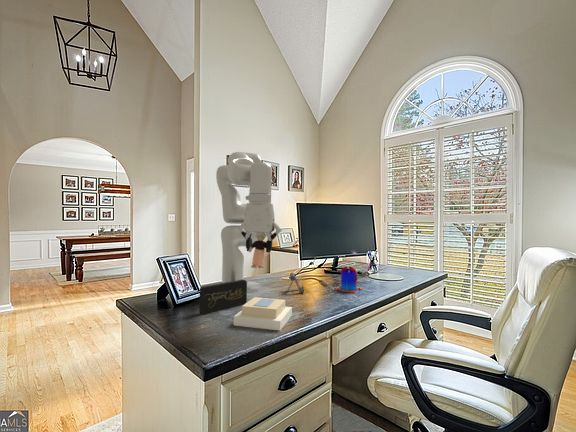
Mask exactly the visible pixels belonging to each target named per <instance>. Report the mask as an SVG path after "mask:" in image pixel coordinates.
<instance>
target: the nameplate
mask: <svg viewBox="0 0 576 432" xmlns="http://www.w3.org/2000/svg"><path fill="white" fill-rule="evenodd" d="M247 290H248V281H247V280H245V279H243V280H237V281H231V282H225V283H222V282H220V283H214V284H209V285H204V286H201V287H200V288H199V298H198V301H199V305H198V308H199V309H198V311H199V314H201V315H207V314H209V315H210V314H212V313H216V312H221V311H224V310H228V309H232V308H235V307H240V306H243V305H244V304H246V303H247V302H248V301H247V300H248V299H247V297H248V295H247V294H248V291H247Z"/></svg>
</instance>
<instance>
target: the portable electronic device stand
mask: <svg viewBox="0 0 576 432" xmlns="http://www.w3.org/2000/svg"><path fill="white" fill-rule="evenodd" d="M289 280H290V284H289V286H288V288H287V291H286V292H287V293H289V291H290V289H291V286H292V284H293V282H295V284H296V287H297V289H298V291H299V294H301V295H303V294H304V293H305V291H304V285H303V284H302V286H300V284H299V281H298V279H297V278H296V274H295V273H294V272H290V274H289Z"/></svg>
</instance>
